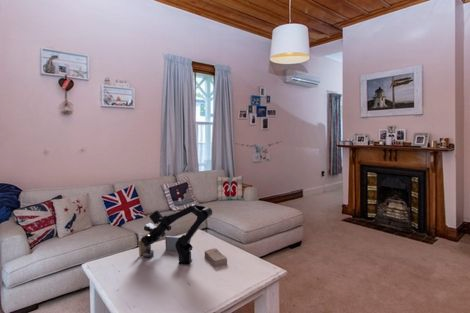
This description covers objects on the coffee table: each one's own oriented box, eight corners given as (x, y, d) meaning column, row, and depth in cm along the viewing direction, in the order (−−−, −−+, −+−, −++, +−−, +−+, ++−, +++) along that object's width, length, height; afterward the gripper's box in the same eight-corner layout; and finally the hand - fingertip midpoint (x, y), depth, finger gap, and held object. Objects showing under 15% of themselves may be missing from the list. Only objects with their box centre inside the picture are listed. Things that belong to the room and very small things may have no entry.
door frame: (183, 250, 188) (183, 236, 187) (182, 251, 186) (182, 238, 185) (149, 247, 193) (149, 234, 192) (148, 248, 191) (147, 235, 190)
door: (151, 248, 191) (150, 233, 190) (141, 256, 178) (140, 240, 178) (149, 247, 191) (148, 233, 190) (139, 255, 179) (138, 240, 178)
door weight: (155, 254, 179) (154, 234, 178) (147, 258, 174) (146, 237, 173) (149, 252, 183) (148, 232, 182) (141, 255, 178) (140, 235, 177)
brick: (228, 264, 167) (227, 257, 166) (215, 268, 163) (215, 260, 162) (216, 254, 181) (215, 247, 181) (204, 257, 177) (203, 250, 177)
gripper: (160, 215, 184) (147, 230, 189) (142, 224, 167) (128, 240, 171) (171, 228, 183) (157, 242, 187) (154, 238, 165) (139, 254, 169)
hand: (146, 244), depth 179 cm, fingers closed on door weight, 3 cm apart
